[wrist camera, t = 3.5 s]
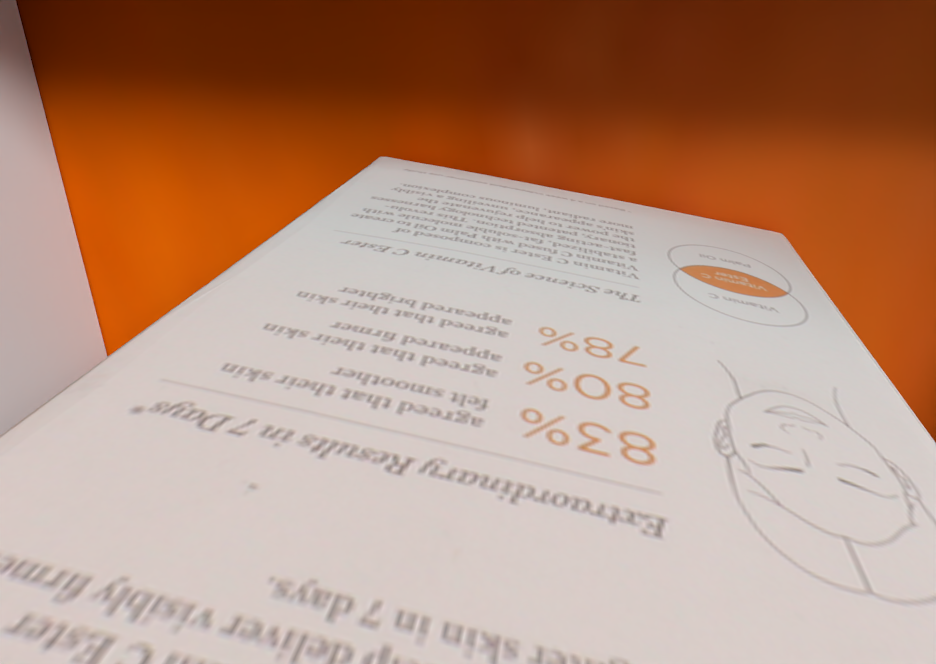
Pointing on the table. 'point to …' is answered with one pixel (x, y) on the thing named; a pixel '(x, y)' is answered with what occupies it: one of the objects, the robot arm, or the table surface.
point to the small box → (478, 453)
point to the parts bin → (36, 248)
